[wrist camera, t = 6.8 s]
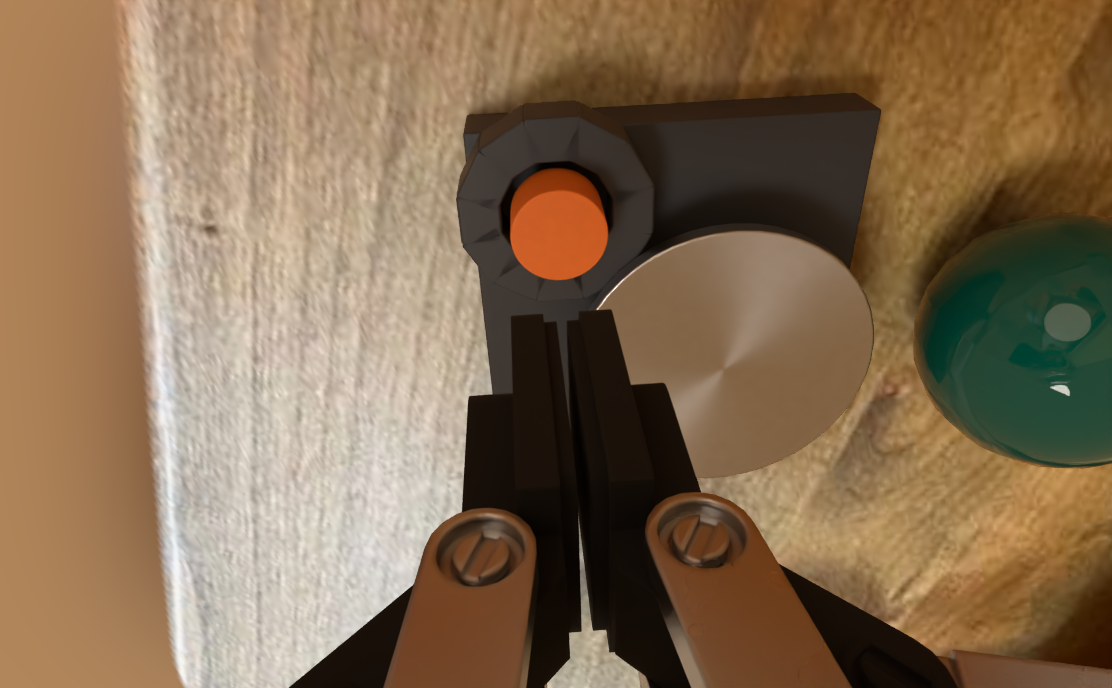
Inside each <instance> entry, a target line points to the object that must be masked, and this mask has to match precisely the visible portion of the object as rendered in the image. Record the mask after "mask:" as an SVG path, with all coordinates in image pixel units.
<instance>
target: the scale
mask: <svg viewBox="0 0 1112 688" xmlns="http://www.w3.org/2000/svg"><path fill="white" fill-rule="evenodd" d="M880 115H881V109H880V108H878V107H877V106H875V105H873V104H872V103H870V102H869V101H867V100H866V99H864V98H862V97H861V96H859V95H858V94H856V93H845V94H828V95H810V96H793V97H776V98H758V99H741V100H723V101H706V102H689V103H671V104H654V105H637V106H619V107H602V108H590V107H588V106H586V105H584V104H582V103H580V102H576V101H575V100H574V101H556V102H539V103H525V104H524V105H522V106H519V107H518V108H516V109H515V110H513V111H512V112H510V113H497V114H480V115H468V116H467V118H466V123H465V128H464V134H463V137H464V146H465V155H466V164H465V166H464V168H463V171H462V173H461V175H460V180H459V185H458V191H457V198H456V202H457V210H458V218H459V226H460V234H461V242H462V244H463V248H464V249H465V250H466V251H467V253H468V254H469V255H470V256H471V258H472V259H473V260H474V262H475V263H476V264H477V265H478V269H479V278H480V286H481V295H482V304H483V313H484V321H485V330H486V339H487V348H488V357H489V365H490V374H491V383H492V392H493V394H507V393H513V384H512V347H511V316H515V315H530V314H543V318H544V322H554V321H556V322H557V329H558V337H559V345H560V352H561V360H562V368H563V376H564V384H565V392H566V400H567V407H568V415H569V423H570V414H569V385H568V356H567V326H566V324H567V321H569V320H578V313H579V311H588V310H589V308H590V306H591V305H592V303H593V302H594V300H595V299H596V297H597V296H598V295H599V293H600V292H601V290H602V289H603V288H604V287H605V286H606V284H607V283H608V282H609V281H610V280H611V279H612V278H613V277H614V276H615V275H616V274H617V273H618V272H619V271H620V270H621V269H623V268H624V267H625V266H626V265H627V264H629V263H630V262H631V261H632V260H633V259H635V258H636V257H638V256H640V255H641V254H643V253H644V252H646V251H647V250H649V249H650V248H652V247H654V246H656V245H658V244H660V243H662V242H664V241H666V240H668V239H670V238H673V237H675V236H678V235H681V234H684V233H686V232H689V231H693V230H697V229H701V228H705V227H709V226H715V225H723V224H732V223H755V224H763V225H771V226H777V227H780V228H784V229H788V230H792V231H795V232H797V233H800V234H802V235H804V236H807V237H809V238H811V239H813V240H815V241H816V242H818V243H820V244H821V245H823V246H824V247H826V248H828V249H829V250H830V251H831V252H832V253H833V254H834V255H836V256H837V257H838V258H839V259H840V260H841V261H842V262H843V263H844V264H845V266H846V267H847V268H848V269H849V268H850V263H851V258H852V254H853V249H854V244H855V239H856V234H857V229H858V224H859V219H860V214H861V209H862V204H863V199H864V194H865V189H866V184H867V179H868V174H869V169H870V164H871V159H872V154H873V149H874V144H875V139H876V134H877V129H878V125H879V120H880ZM548 168H566V169H570V170H573V171H576V172H578V173H580V174H582V175H583V176H585V177H586V178H587V179H588V180H589V181H590V182H591V183H592V184H593V185H594V186H595V188H596V190H597V191H598V193H599V196H600V199H601V203H602V206H603V210H604V214H605V217H606V221H607V226H608V242H607V246H606V249H605V251H604V253H603V255H602V257H601V258H600V260H599V261H598V262H597V263H596V264H595V265H594V266H593V267H592V268H591V269H590V270H588V271H587V272H585V273H584V274H582V275H580V276H577V277H574V278H571V279H566V280H551V279H546V278H542V277H539V276H537V275H535V274H533V273H531V272H530V271H528V270H527V269H526V268H525V267H524V266H523V265H522V264H521V263H520V262H519V261H518V259H517V258H516V256H515V254H514V252H513V249H512V246H511V240H510V212H511V203H512V199H513V196H514V194H515V192H516V190H517V189H518V187H519V186H520V185H521V183H522V182H523V181H524V180H525V179H527V178H528V177H529V176H531V175H532V174H534V173H536V172H538V171H541V170H544V169H548Z"/></svg>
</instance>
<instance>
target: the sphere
mask: <svg viewBox="0 0 1112 688" xmlns="http://www.w3.org/2000/svg"><path fill="white" fill-rule="evenodd" d="M913 353H914V361H915V364H916V367H917V369H918V372H919V375H920V377H921V380H922V382H923V385H924V387H925V390H926V393H927V395H928V397H929V399H930V400H931V402H932V403H933V405H934V406H935V408H936V409H937V410H938V411H939V412H940V413H941V414H942V415H943V416H944V417H945V418H946V419H947V420H948V421H949V422H950V423H951V424H952V425H953V426H955V427H956V428H957V429H958V430H959V431H960V432H961V433H962V434H963V435H965V436H966V437H967V438H968V439H970V440H971V441H973V442H974V443H976V444H977V445H978V446H980V447H982V448H984V449H987V450H989V451H991V452H993V453H996V454H998V455H1001V456H1004V457H1007V458H1010V459H1013V460H1016V461H1019V462H1022V463H1026V464H1030V465H1034V466H1038V467H1053V468H1081V469H1083V468H1089V467H1095V466H1101V465H1106V464H1111V463H1112V217H1107V216H1102V215H1087V214H1072V213H1050V214H1045V215H1041V216H1036V217H1032V218H1027V219H1023V220H1018V221H1014V222H1009V223H1005V224H1003V225H1001V226H999V227H997V228H995V229H993V230H991V231H989V232H987V233H985V234H983V235H981V236H979V237H977V238H975V239H973V240H972V241H971V242H970V243H968V244H967V245H966V246H965V247H963V248H962V249H961V250H960V251H958V252H957V253H956V254H955V255H954V256H952V257H951V258H950V259H949V260H947V262H946V263H945V264H944V265H943V267H942V268H941V269H940V271H939V272H938V273H937V274H936V276H935V277H934V278H933V279H932V281H931V282H930V283H929V285H928V286H927V288H926V291H925V293H924V296H923V298H922V300H921V303H920V305H919V308H918V310H917V313H916V317H915V322H914V341H913Z"/></svg>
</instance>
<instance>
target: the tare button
mask: <svg viewBox="0 0 1112 688" xmlns="http://www.w3.org/2000/svg"><path fill="white" fill-rule="evenodd" d="M510 240H511V246H512V249H513V252H514V254H515V256H516V258H517V259H518V261H519V262H520V263H521V264H522V265H523V266H524V267H525V268H526V269H527V270H528V271H530V272H531V273H533V274H535V275H537V276H539V277H542V278H546V279H551V280H566V279H571V278H574V277H577V276H580V275H582V274H584V273H585V272H587V271H588V270H590V269H591V268H592V267H593V266H594V265H595V264H596V263H597V262H598V261H599V260H600V258H601V257H602V255H603V253H604V251H605V249H606V246H607V242H608V226H607V221H606V217H605V214H604V210H603V206H602V203H601V199H600V196H599V193H598V191H597V190H596V188H595V186H594V185H593V184H592V183H591V182H590V181H589V180H588V179H587V178H586V177H585V176H583V175H582V174H580V173H578V172H576V171H573V170H570V169H566V168H548V169H544V170H541V171H538V172H536V173H534V174H532V175H531V176H529V177H528V178H527V179H525V180H524V181H523V182H522V183H521V185H520V186H519V187H518V189H517V190H516V192H515V194H514V196H513V199H512V203H511V212H510Z"/></svg>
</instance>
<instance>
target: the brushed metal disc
mask: <svg viewBox="0 0 1112 688" xmlns="http://www.w3.org/2000/svg"><path fill="white" fill-rule="evenodd" d="M605 309H611V310H612V312H613V316H614V320H615V324H616V328H617V332H618V336H619V339H620V343H621V347H622V351H623V355H624V359H625V363H626V367H627V371H628V375H629V379H630V383H631V385H635V384H649V383H664V384H666V387H667V389H668V392H669V395H670V398H671V401H672V404H673V407H674V410H675V413H676V416H677V419H678V423H679V426H680V429H681V432H682V435H683V438H684V441H685V444H686V447H687V450H688V453H689V457H690V460H691V463H692V466H693V469H694V472H695V475H696V478H716V477H725V476H732V475H736V474H741V473H746V472H750V471H753V470H756V469H759V468H763V467H765V466H768V465H770V464H773V463H775V462H778V461H780V460H782V459H784V458H786V457H788V456H790V455H792V454H794V453H795V452H797V451H799V450H800V449H802V448H803V447H805V446H806V445H808V444H809V443H811V442H812V441H814V440H815V439H816V438H817V437H819V436H820V435H821V434H822V433H824V432H825V431H826V430H827V429H828V428H829V427H830V426H831V425H832V424H833V423H834V422H835V421H836V420H837V419H838V418H839V417H840V416H841V415H842V413H843V412H844V411H845V410H846V408H847V407H848V406H849V405H850V403H851V402H852V400H853V399H854V397H855V395H856V394H857V392H858V391H859V389H860V387H861V384H862V382H863V380H864V378H865V376H866V373H867V370H868V367H869V364H870V361H871V356H872V350H873V343H874V325H873V319H872V313H871V309H870V306H869V303H868V300H867V297H866V294H865V293H864V291H863V289H862V287H861V286H860V284H859V282H858V280H857V279H856V278H855V277H854V275H853V274H852V273H851V272H850V270H849V269H848V268H847V267H846V266H845V264H844V263H843V262H842V261H841V260H840V259H839V258H838V257H837V256H836V255H834V254H833V253H832V252H831V251H830V250H829V249H828V248H826V247H824V246H823V245H821V244H820V243H818V242H816V241H815V240H813V239H811V238H809V237H807V236H804V235H802V234H800V233H797V232H795V231H792V230H788V229H784V228H780V227H777V226H771V225H763V224H755V223H732V224H723V225H715V226H709V227H705V228H701V229H697V230H693V231H689V232H686V233H684V234H681V235H678V236H675V237H673V238H670V239H668V240H666V241H664V242H662V243H660V244H658V245H656V246H654V247H652V248H650V249H649V250H647V251H646V252H644V253H643V254H641V255H640V256H638V257H636V258H635V259H633V260H632V261H631V262H630V263H629V264H627V265H626V266H625V267H624V268H623V269H621V270H620V271H619V272H618V273H617V274H616V275H615V276H614V277H613V278H612V279H611V280H610V281H609V282H608V283H607V284H606V286H605V287H604V288H603V289H602V290H601V292H600V293H599V295H598V296H597V297H596V299H595V300H594V302H593V303H592V305H591V306H590V308H589V310H588V311H590V310H605Z"/></svg>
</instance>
